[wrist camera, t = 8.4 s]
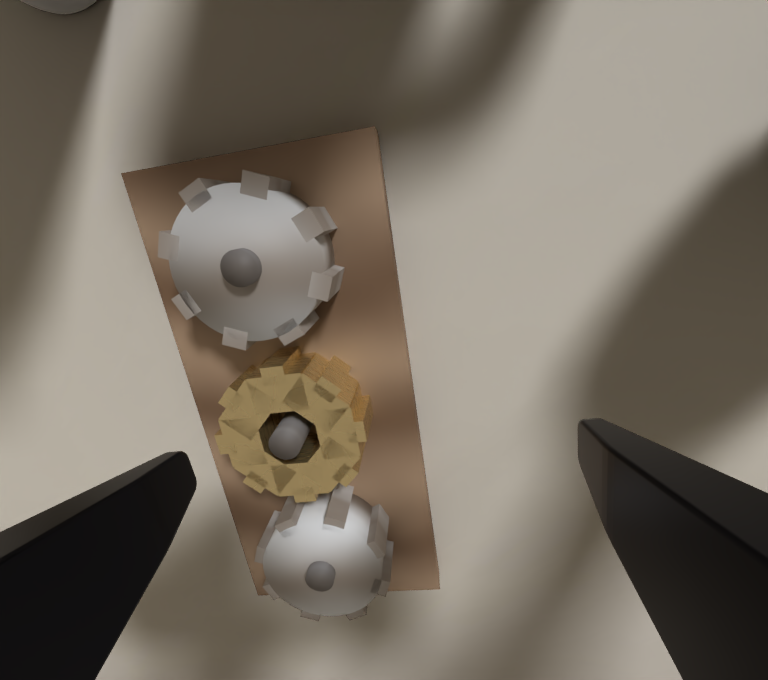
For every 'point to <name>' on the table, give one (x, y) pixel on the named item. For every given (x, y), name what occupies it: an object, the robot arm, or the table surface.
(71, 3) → the lotion bottle
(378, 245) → the gear board
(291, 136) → the table surface
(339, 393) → the brass gear
